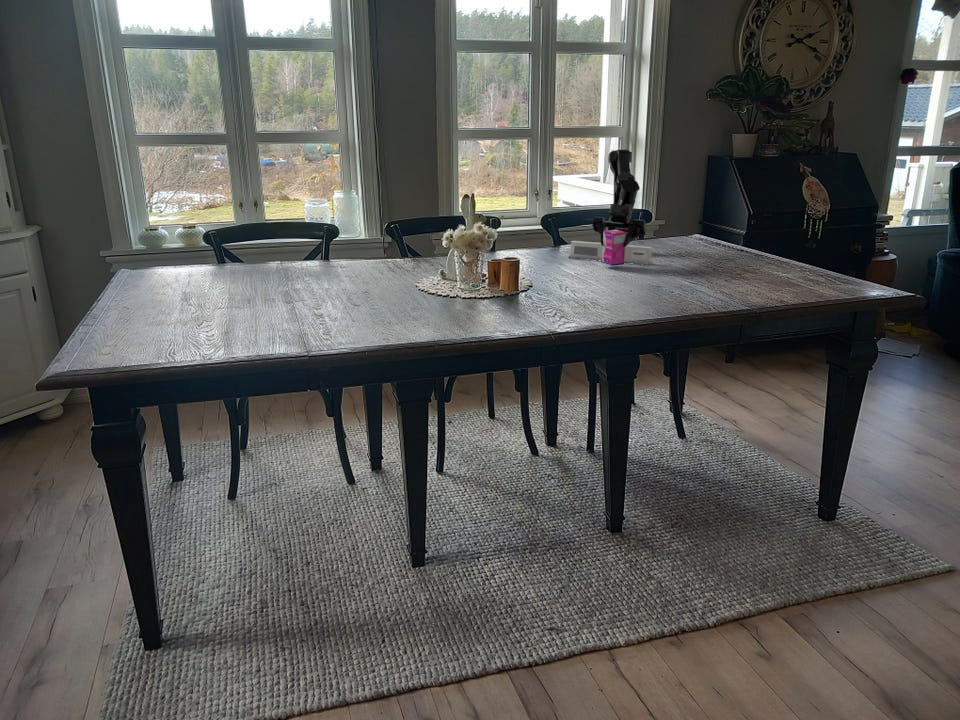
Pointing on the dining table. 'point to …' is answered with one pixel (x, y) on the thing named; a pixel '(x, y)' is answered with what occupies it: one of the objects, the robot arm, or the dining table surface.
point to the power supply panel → (595, 251)
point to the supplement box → (613, 247)
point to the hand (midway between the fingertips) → (612, 245)
